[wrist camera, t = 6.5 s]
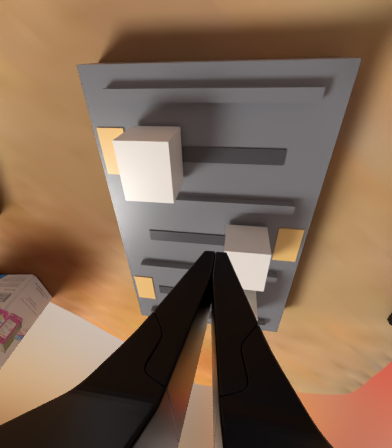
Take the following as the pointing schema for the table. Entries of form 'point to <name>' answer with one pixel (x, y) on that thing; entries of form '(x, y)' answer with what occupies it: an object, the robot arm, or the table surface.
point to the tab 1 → (150, 163)
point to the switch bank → (222, 159)
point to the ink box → (19, 309)
